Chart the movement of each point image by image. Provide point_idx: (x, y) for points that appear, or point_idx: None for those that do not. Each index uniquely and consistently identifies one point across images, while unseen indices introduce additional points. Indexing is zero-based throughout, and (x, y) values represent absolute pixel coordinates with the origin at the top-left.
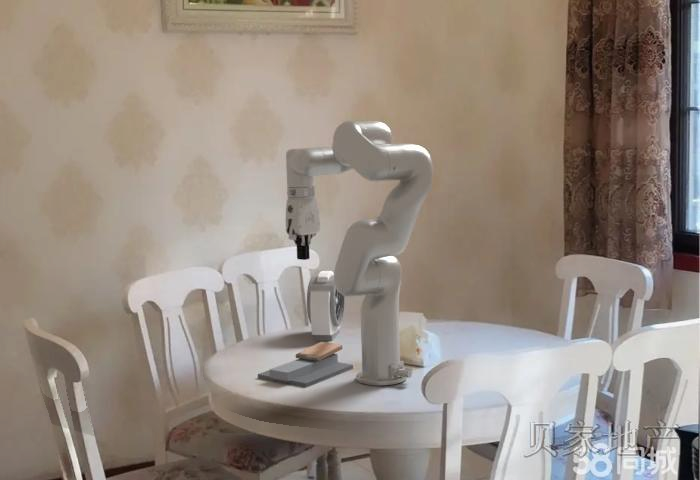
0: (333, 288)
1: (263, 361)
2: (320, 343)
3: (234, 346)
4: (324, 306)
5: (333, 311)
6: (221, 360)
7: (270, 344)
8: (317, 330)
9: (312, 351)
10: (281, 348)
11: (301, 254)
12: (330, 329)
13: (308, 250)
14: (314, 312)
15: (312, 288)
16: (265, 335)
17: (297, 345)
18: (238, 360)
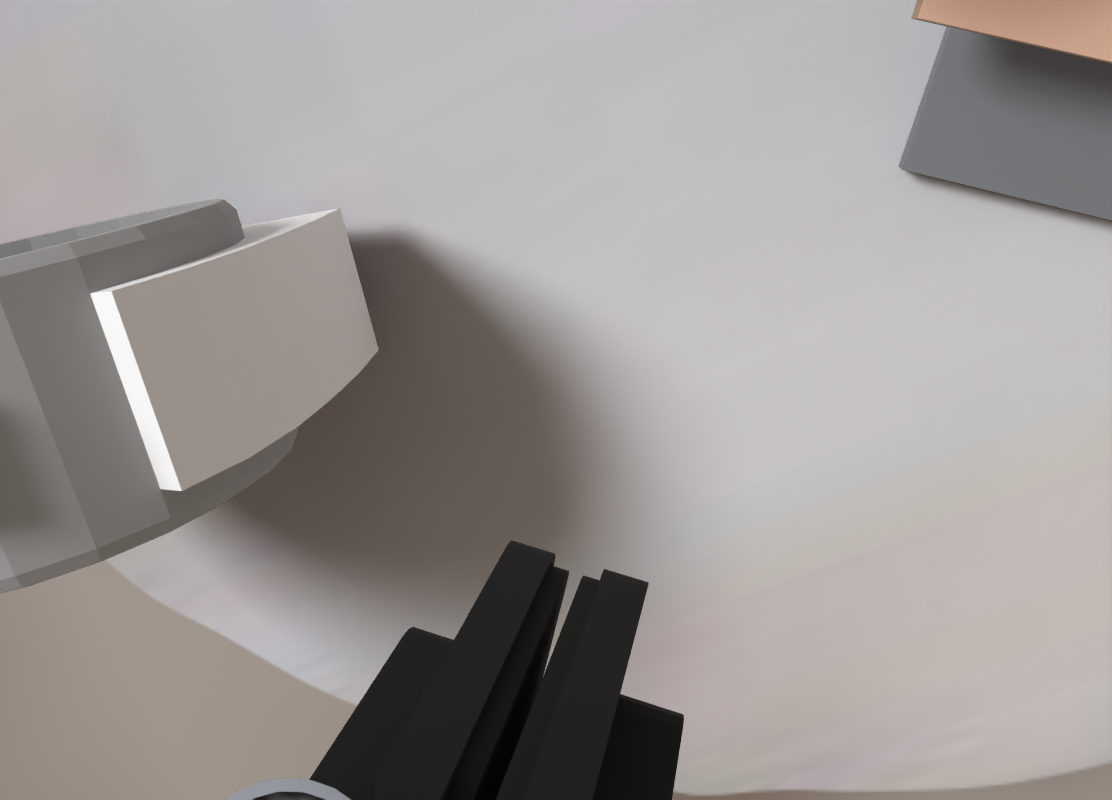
0: (25, 272)
1: (977, 460)
2: (975, 2)
3: None
4: (251, 294)
5: (220, 213)
6: (999, 726)
7: None
8: (357, 314)
9: None
10: (606, 476)
11: (672, 754)
12: (315, 216)
13: (482, 668)
14: (309, 372)
15: (116, 500)
16: (338, 685)
17: (499, 403)
18: (980, 627)
